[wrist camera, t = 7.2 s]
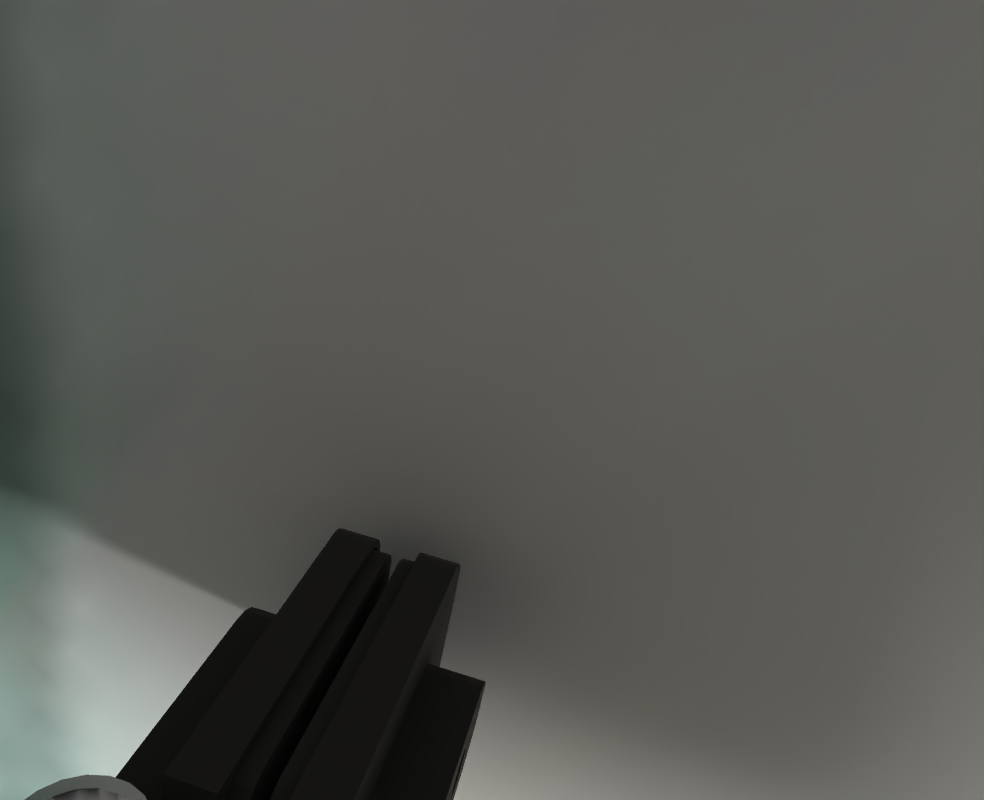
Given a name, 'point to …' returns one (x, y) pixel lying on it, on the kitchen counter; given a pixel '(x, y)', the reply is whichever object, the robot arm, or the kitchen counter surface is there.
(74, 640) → the kitchen counter surface
